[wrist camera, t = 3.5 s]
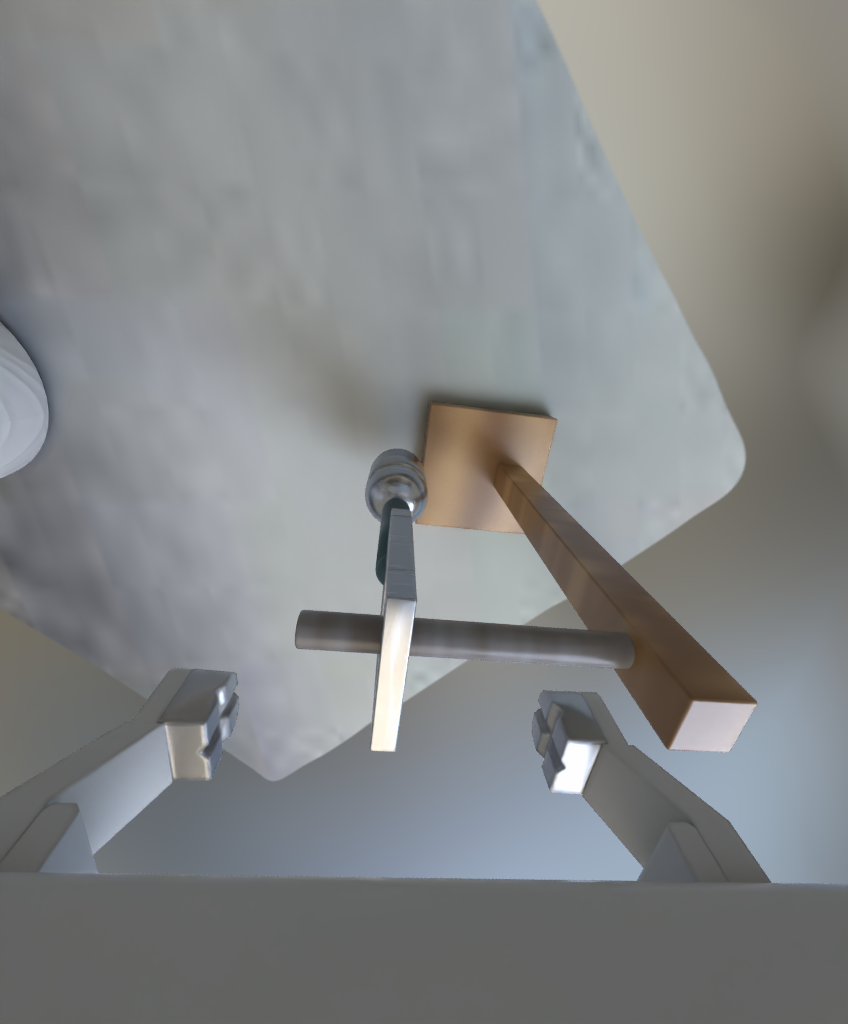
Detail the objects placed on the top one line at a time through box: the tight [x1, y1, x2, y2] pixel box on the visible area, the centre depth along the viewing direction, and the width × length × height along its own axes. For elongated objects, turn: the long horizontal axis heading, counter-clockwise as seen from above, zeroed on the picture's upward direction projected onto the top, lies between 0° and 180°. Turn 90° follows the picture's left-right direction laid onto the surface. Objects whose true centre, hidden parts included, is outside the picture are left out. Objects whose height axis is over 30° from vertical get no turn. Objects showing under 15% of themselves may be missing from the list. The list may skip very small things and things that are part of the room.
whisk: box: [365, 449, 428, 752], centre depth 21 cm, size 4×6×21 cm
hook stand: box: [295, 402, 757, 752], centre depth 22 cm, size 15×10×25 cm, turn 83°
